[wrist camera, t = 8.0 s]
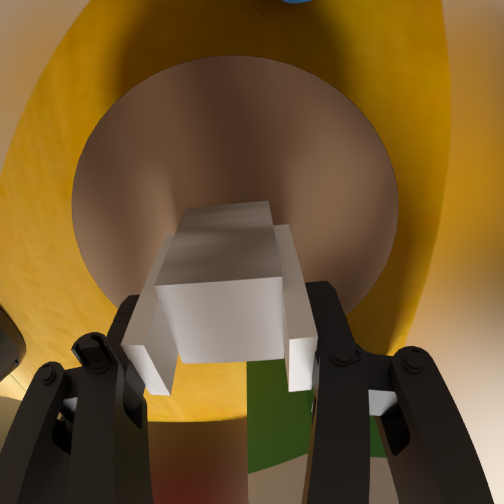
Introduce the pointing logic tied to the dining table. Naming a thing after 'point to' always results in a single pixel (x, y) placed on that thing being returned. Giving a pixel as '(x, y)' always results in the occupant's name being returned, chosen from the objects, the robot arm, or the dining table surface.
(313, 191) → the lid
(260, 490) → the hardback book
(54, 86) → the dining table surface
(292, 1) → the alarm clock
